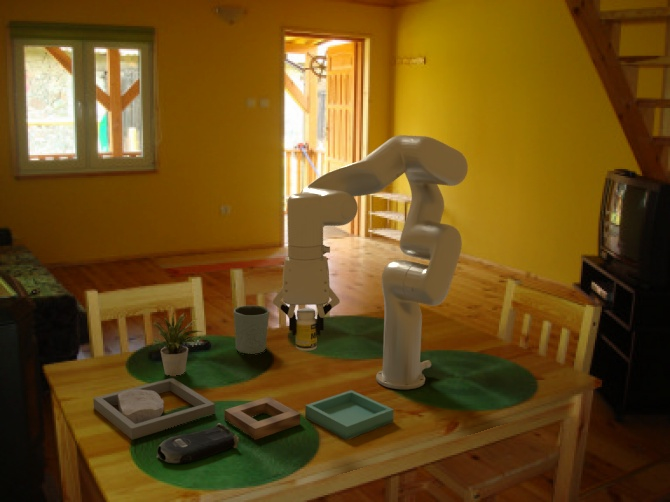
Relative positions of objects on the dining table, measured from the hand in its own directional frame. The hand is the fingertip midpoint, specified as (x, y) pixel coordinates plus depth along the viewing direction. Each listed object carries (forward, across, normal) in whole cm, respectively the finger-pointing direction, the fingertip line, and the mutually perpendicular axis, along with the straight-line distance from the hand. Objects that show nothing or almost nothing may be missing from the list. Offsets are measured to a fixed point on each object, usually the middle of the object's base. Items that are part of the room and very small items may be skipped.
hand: (306, 332), depth 152 cm
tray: (+21, -9, 0) cm, 23 cm away
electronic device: (+20, +22, +15) cm, 34 cm away
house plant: (+21, +36, -26) cm, 49 cm away
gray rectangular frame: (+20, +35, -4) cm, 40 cm away
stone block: (+20, +38, -3) cm, 43 cm away
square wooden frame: (+20, +10, +2) cm, 23 cm away
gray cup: (+21, +17, -46) cm, 53 cm away
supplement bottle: (+4, 0, 0) cm, 4 cm away
